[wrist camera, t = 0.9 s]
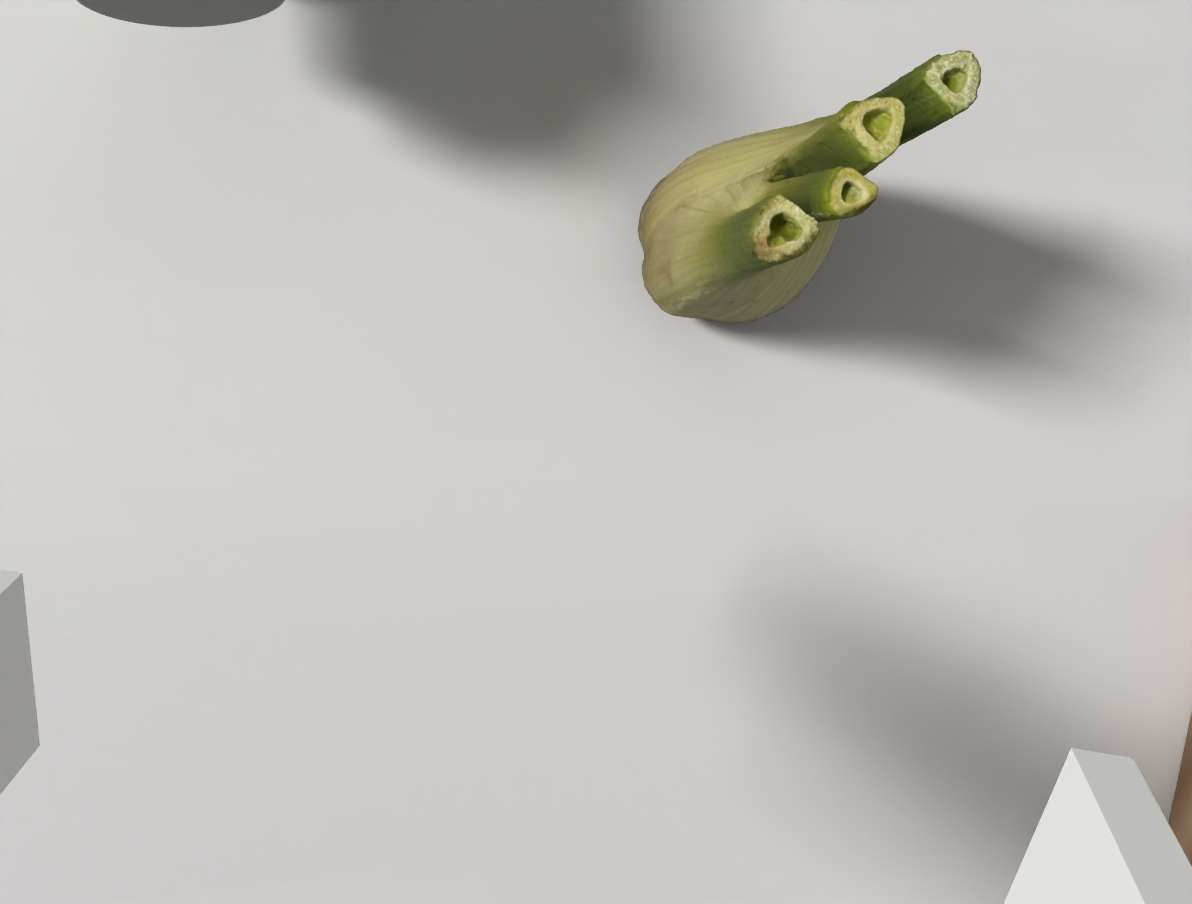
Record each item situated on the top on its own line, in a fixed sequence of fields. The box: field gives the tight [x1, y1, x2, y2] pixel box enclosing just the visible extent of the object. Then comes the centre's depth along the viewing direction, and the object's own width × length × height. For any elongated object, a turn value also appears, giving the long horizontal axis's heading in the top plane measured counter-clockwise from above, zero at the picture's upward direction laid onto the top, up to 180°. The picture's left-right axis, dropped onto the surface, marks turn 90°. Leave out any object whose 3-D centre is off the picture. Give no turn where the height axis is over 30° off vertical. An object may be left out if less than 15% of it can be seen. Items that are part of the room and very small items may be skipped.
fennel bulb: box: [638, 51, 981, 323], centre depth 27 cm, size 6×5×12 cm
